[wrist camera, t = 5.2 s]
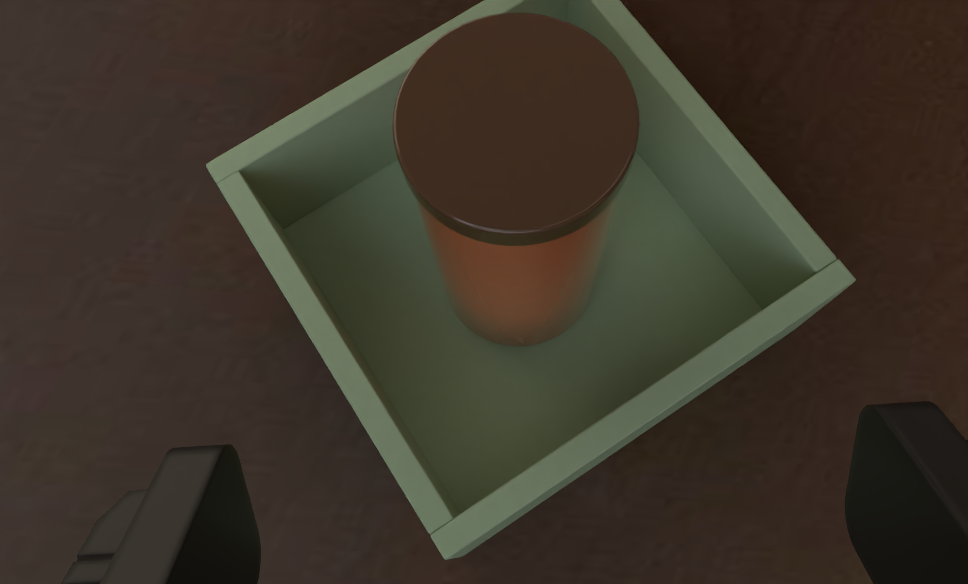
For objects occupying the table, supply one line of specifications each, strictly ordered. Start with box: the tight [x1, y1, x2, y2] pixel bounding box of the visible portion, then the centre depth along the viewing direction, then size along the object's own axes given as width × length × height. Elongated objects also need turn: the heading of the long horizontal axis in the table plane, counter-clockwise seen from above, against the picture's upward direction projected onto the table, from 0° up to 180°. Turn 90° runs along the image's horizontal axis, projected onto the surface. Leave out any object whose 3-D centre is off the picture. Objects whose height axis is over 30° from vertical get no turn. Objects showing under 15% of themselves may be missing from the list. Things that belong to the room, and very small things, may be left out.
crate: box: [206, 0, 855, 560], centre depth 24 cm, size 12×12×5 cm
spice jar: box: [392, 12, 640, 346], centre depth 22 cm, size 5×5×10 cm
